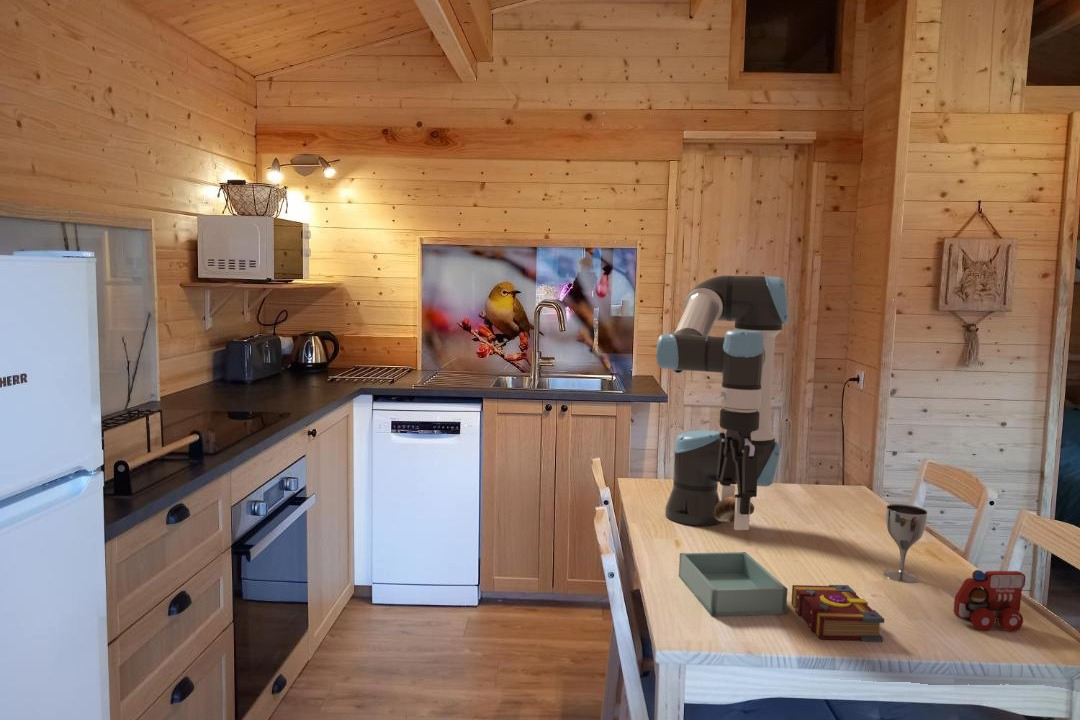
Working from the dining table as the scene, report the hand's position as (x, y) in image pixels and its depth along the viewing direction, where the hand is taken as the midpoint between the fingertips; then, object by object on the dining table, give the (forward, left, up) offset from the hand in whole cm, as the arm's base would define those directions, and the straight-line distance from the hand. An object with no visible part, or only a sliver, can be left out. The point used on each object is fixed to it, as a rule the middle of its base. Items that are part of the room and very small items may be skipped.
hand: (733, 522), depth 149 cm
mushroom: (0, 0, -1) cm, 1 cm away
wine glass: (-7, +42, -15) cm, 45 cm away
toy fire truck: (+16, +44, -15) cm, 49 cm away
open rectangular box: (0, 0, -15) cm, 15 cm away
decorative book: (+13, +15, -15) cm, 25 cm away
